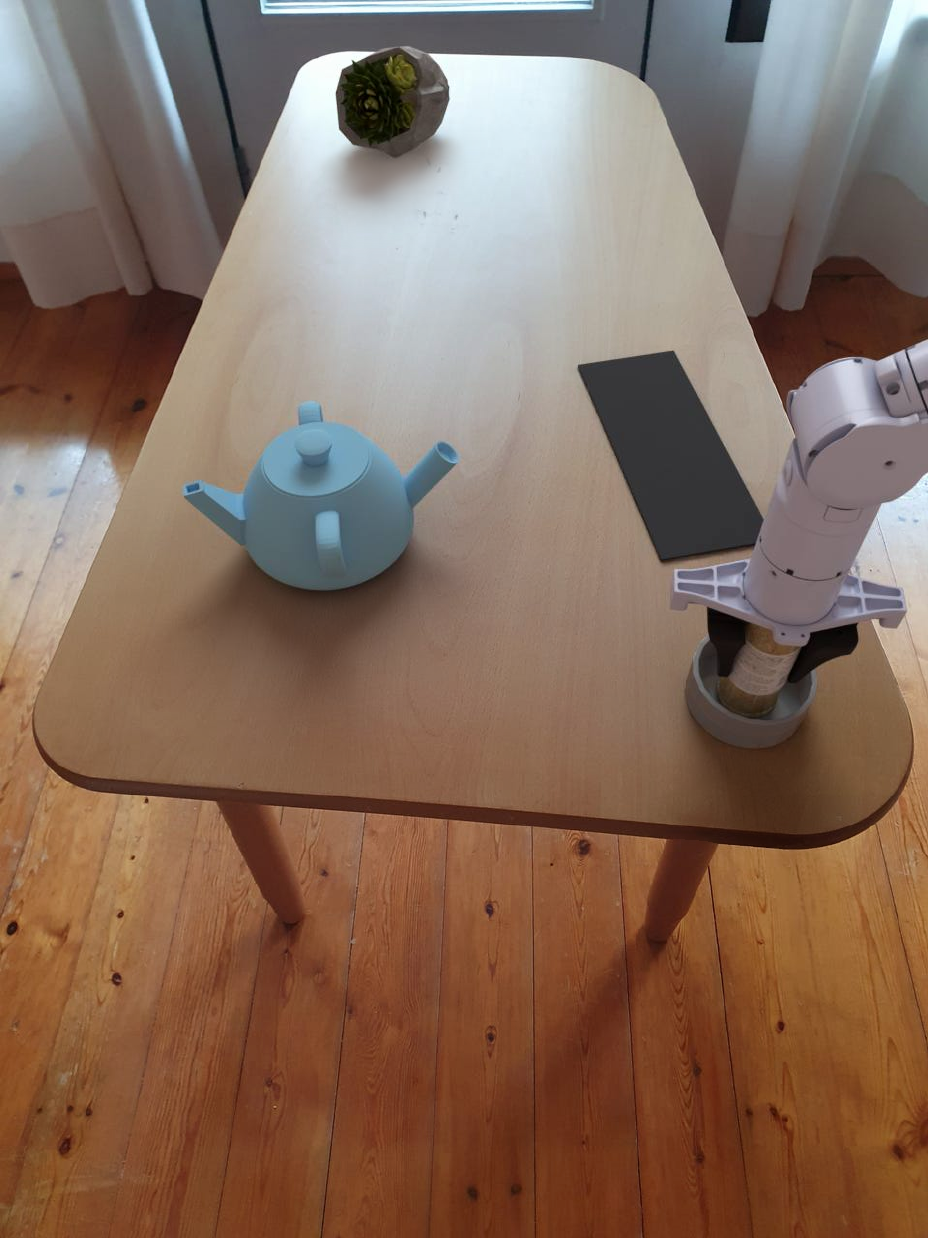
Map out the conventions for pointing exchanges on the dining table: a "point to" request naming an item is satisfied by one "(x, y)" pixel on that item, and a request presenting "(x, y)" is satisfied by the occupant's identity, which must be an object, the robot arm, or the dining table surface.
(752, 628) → the sprinkles bottle
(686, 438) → the mat
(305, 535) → the teapot
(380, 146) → the potted plant
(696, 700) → the basin
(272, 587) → the dining table surface
